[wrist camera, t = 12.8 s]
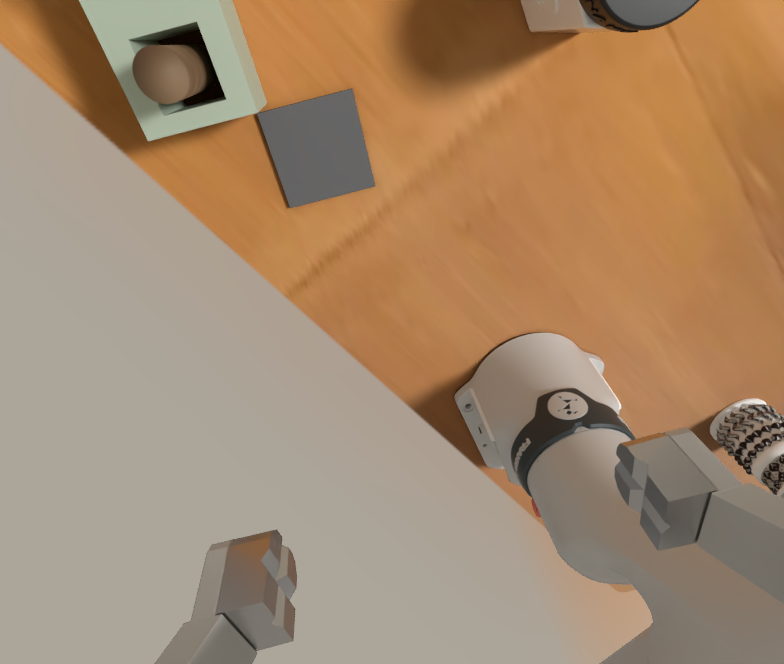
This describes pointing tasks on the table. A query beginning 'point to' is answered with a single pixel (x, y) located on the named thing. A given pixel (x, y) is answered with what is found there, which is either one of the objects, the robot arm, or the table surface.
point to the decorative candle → (754, 440)
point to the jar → (602, 14)
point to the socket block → (167, 19)
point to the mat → (318, 148)
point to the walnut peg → (173, 72)
